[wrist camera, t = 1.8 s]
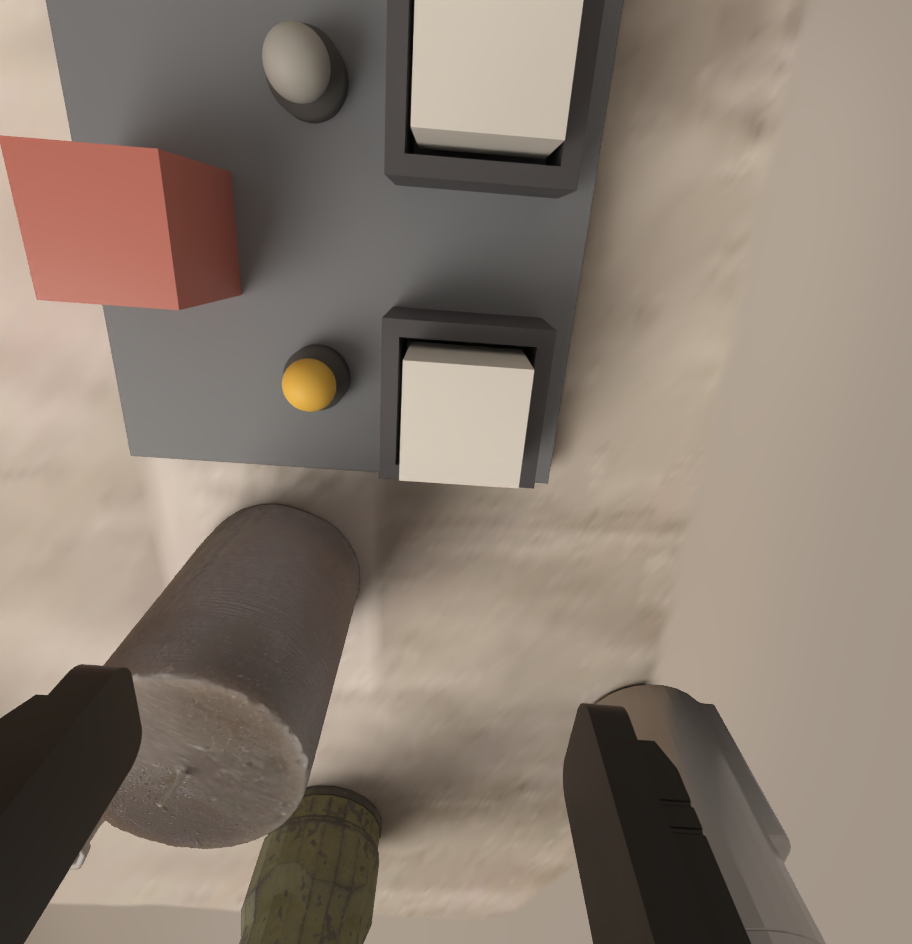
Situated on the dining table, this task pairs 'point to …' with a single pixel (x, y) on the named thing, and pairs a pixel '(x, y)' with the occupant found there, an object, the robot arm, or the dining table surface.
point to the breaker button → (493, 74)
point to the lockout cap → (123, 224)
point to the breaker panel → (329, 224)
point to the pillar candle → (236, 679)
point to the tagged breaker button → (464, 414)
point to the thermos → (316, 873)
